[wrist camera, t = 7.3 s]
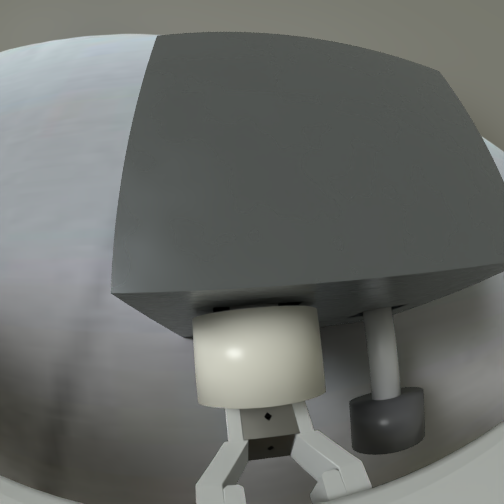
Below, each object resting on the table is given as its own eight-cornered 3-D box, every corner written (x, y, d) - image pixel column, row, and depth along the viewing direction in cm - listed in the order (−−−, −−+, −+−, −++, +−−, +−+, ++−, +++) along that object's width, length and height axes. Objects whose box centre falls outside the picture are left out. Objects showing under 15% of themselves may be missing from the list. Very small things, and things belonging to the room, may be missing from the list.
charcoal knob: (399, 424, 16) (439, 434, 12) (340, 442, 16) (372, 461, 11) (384, 289, 20) (422, 270, 15) (326, 296, 19) (355, 276, 15)
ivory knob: (305, 384, 12) (346, 394, 8) (202, 393, 12) (192, 412, 7) (281, 186, 16) (301, 128, 11) (193, 188, 15) (187, 128, 11)
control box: (383, 317, 23) (529, 258, 9) (183, 337, 21) (110, 293, 7) (356, 190, 27) (439, 71, 13) (181, 192, 25) (157, 35, 11)
